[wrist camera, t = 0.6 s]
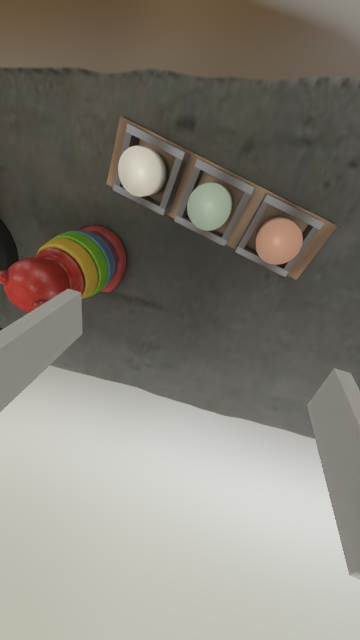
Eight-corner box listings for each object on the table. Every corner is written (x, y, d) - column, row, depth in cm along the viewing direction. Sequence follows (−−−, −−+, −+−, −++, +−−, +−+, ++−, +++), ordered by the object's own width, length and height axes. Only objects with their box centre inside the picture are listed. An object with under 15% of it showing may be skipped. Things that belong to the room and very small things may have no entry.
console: (109, 183, 35) (96, 184, 32) (123, 117, 31) (110, 111, 28) (295, 277, 35) (299, 286, 32) (335, 224, 31) (344, 229, 28)
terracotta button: (247, 247, 32) (247, 252, 29) (270, 208, 29) (271, 211, 27) (282, 264, 32) (284, 271, 29) (307, 227, 29) (312, 232, 27)
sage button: (186, 215, 32) (180, 219, 29) (202, 174, 29) (198, 174, 27) (220, 233, 32) (217, 237, 29) (240, 193, 29) (239, 195, 27)
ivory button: (124, 184, 32) (113, 185, 29) (135, 140, 29) (124, 137, 27) (158, 201, 32) (150, 204, 29) (172, 159, 29) (165, 157, 27)
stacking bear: (62, 251, 43) (-38, 291, 28) (90, 207, 38) (-15, 226, 23) (109, 295, 45) (39, 353, 30) (141, 258, 40) (76, 306, 25)
